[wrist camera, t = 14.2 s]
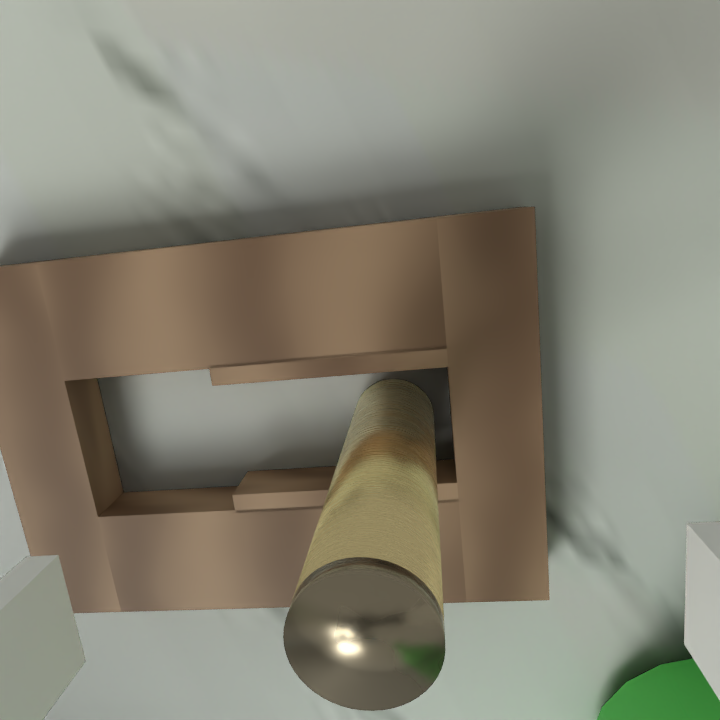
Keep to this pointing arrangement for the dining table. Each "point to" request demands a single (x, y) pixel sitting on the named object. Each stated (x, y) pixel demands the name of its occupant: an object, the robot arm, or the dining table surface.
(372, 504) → the peg
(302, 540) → the keyhole board
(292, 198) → the dining table surface
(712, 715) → the bottle
